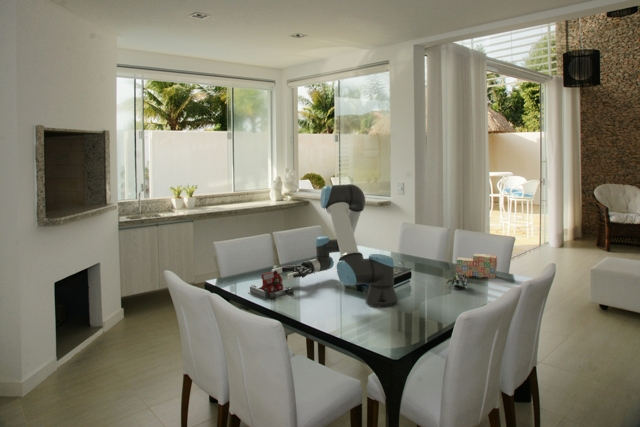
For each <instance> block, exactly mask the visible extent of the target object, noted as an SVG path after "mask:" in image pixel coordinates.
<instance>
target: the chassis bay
mask: <svg viewBox="0 0 640 427" xmlns="http://www.w3.org/2000/svg"><path fill="white" fill-rule="evenodd" d="M248 294H250V295H252V296H253V297H257V298H259V299H262V300H270V299H271V300H274V299H276V298H277V297H280V296H284V295H287V294H289V295H293V294H294V289H293V287H288V288H286V287H284V286H283V290H280V291H277V290H276V289H275V291H274V292H271V293H269V292H268V291H264V290H262V285H261V286H258V287H257V286H256V285H254V284H252V285H250V286H249V291H248Z"/></svg>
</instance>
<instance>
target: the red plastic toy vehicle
mask: <svg viewBox="0 0 640 427" xmlns="http://www.w3.org/2000/svg"><path fill="white" fill-rule="evenodd" d="M261 280H262V285H261V286H262V290H264V291H268V292H269V293H271V292H274V291H275V289H276V290H277V291H280V290H283V287H284V285H283V279H282V276H281V273H277V271H274V273H273V272H272V271H269V272H265V273H262V274H261Z"/></svg>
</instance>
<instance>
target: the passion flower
mask: <svg viewBox="0 0 640 427" xmlns="http://www.w3.org/2000/svg"><path fill="white" fill-rule="evenodd" d="M456 271H457V270H456V269H453V272H454V275H453V277H451V278H450V277H448V275H445V277H446V278H445V279H448V281H446V283H445V284H446V285H447V284H448V283H450V286H449V288H452V286H453V285H454V284H455V283H456V285H459V283H460V282H461V286H462V288H463V289H466V290H467V288H468V287H467V285H468V283H469V282H468V279H469V278H470V276H468V275H467V274H466V272H464V276H463V274H461V273H460V272H458V271H457V272H456ZM466 277H467V278H466Z"/></svg>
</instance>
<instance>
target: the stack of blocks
mask: <svg viewBox="0 0 640 427" xmlns="http://www.w3.org/2000/svg"><path fill="white" fill-rule="evenodd" d="M497 265H498V255H496V254H495V255H494V254H483V253H482V254H481V253H474V254H473V255H472V258H471V257H457V259H456V269H455V271H456V272H457V271H458V272H460V273H461V274H463V275H464V272H466V274H467V275H468V276H469V277H472V276H476V277H475V278H482V277H488V278H487V279H492V278H495V277H497V269H498V268H497ZM495 279H496V278H495Z"/></svg>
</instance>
